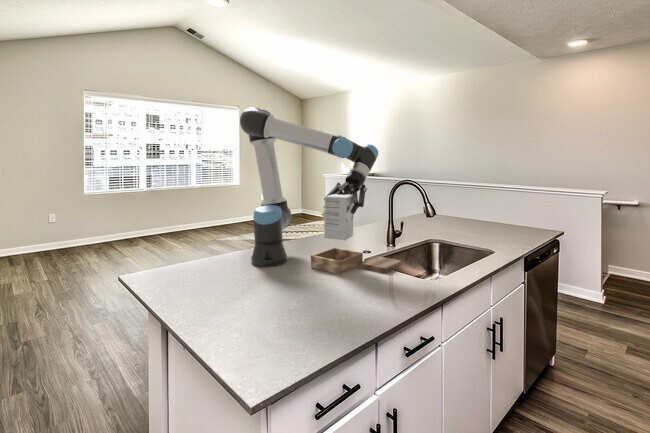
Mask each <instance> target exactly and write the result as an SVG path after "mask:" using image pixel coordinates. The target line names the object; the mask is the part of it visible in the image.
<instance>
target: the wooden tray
mask: <svg viewBox="0 0 650 433" xmlns="http://www.w3.org/2000/svg"><path fill="white" fill-rule="evenodd" d="M363 255H364V254H363V252H361V251H354V250H349V249H345V248H340V247H333V248H331V249H330V248H329V249H327V250H324V251H321V252H318V253H315V254H312V255H310V268H313V269H317V270H320V271H324V272H329V273H332V274H338V275H342V274H344V273H347V272H349V271H351V270H353V269H356V268H359V263H361V262H363V261H364V260H363V258H364V256H363Z"/></svg>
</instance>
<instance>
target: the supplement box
mask: <svg viewBox="0 0 650 433" xmlns="http://www.w3.org/2000/svg"><path fill="white" fill-rule="evenodd" d="M324 198H325V200H324V206H325V218H324V225H323V226H324V234H323V235H324V239H328V240H337V241H338V240H339V241H347V240H348V239H350V238H352V237H353V236H354V214H353V215H352V217H351V219H350V221H349V222H348V221H347V220H346V219H345V216H346V214H347V212H348V210H349V208H350V206H351V204H353V205H354V202H353V195H350V194H346V195H339V194H332V195H329V196H327V195H326V196H324Z"/></svg>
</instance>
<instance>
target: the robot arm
mask: <svg viewBox="0 0 650 433" xmlns="http://www.w3.org/2000/svg"><path fill="white" fill-rule="evenodd" d="M239 125H240V128H241V130H242V131H243V132H244V133H245V134H247V135H248V139H249V144H251V145H252V146H253V148H254V152H255V157H256V163H257V164H256V165H257V168H258V169H257V170H258V176H259V181H260V186H261V192H262V198H263V199H262V200H263V201H262V202H261V203H260V206H258V207H256V208H255V209H254V210H253V215H252V217H253V228H254V229H253V230H254V231H253V233H254V234H253V235H254V247H253V250H252V254H251V257H250V258H251V264H252V265H253V266H257V267H276V266H281V265H284V264H286V263H287V262H288V254H287V253H286V249H285V246H284V244H283V243H284V241H283V240H284V239H283V230H284V229H286V228H287V227H288V226H289V224H291V221H292V211H291V209H290V208H289V206H288V201H287V198H285V197H284V196H283V192H282V191H283V190H282V185H281V179H280V173H279V167H278V162H277V156H276V149H275V144H274V143H275V141H276V140H277V139H278V140H281V141H284V142H288V143H291V144H295V145H297V146H302V147H304V148H305V147H306V148H308V149H311V150H315V151H318V152H322V153H325V154H329V155H332V156H335V157H337V158H340V159H346V160H349V161H351V162H352V163H353V165H352V166H351V168H350V170H349V172H348V174H347V175H346V177H345V182H343V183H341V182H337V183H336V185H335V186H334V187H333V188H332V190H330V191H329V192H328V193H327V194H326V196H329V195H332V194H339V195H353V202H354V205H353V204H351V206H350V208H349V210H348V212H347V214H346V216H345V219H346V220H347V221H348V222H349V221H350V219H351V217H352V215H353V216H354V214H356V212H357V211H358V209H359V208H363V207H364V205H365V198H366V192H367V190H368V188H367V186H366V185H365V184H364V183H365V182H366V179H367V177H368V176H369V174H370V172H371V170H372V168H373V167H374V165H375V163H376V161H377V159H378V156H379V150H378V148H377V147H376V146H375V145H373V144H367V143H366V144H365V145H363V146H362V145H360V144H358V143H355V142H354V141H352V140H350V139H349V138H346V137H345V136H342V135H341V134H338V135H334V134H331V133H327V132H324V131H321V130H318V129H317V130H316V129H314V128H310V127H307V126H303V125H301V124H296V123H292V122H290V121H286V120H284V119H279V118H276V117H275V116H274V114H272V112H269V111H267V110H265V109H261V108H259V107H254V106H252V107H248V108H246V109H244V110H243V112H242V113H241V115H240V117H239ZM358 192H359V194H358ZM358 195H359V196H358ZM323 200H324V201H325V197H324V198H323ZM320 213H321V214H320V215H321V216H322V218H324V219H325V205H324V206H323V209H322V211H321V212H320Z"/></svg>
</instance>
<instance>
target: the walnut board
mask: <svg viewBox="0 0 650 433" xmlns="http://www.w3.org/2000/svg"><path fill="white" fill-rule="evenodd" d="M402 262H403V261H402V259H401V260H399V259H395V258H390V257H383V256H378V255H375V256H372V257H370V258H368V259H366V260H363V262H361V263H359V266H358V268H359V269H362V270H368V271H372V272H378V273H381V274H388V273H390V272H392V271H394V270H396V269H397V268H399V267H401V266H403V265H402Z"/></svg>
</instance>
